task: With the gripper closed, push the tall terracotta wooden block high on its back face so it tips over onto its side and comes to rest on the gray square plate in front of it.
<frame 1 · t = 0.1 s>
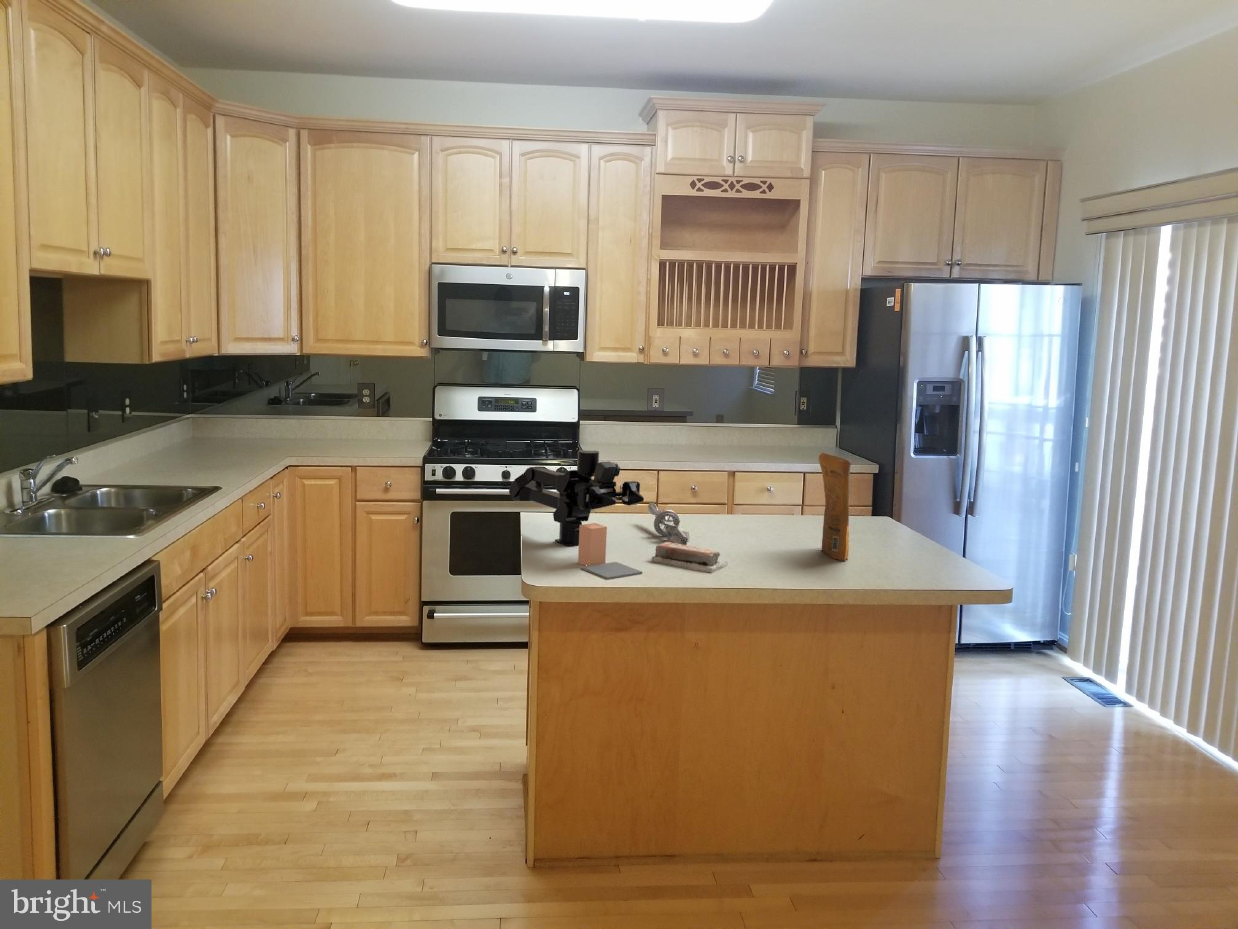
hand: (629, 501, 256), 17 cm above the counter, fingers open, 9 cm apart
pancake mix bag: (831, 554, 279), on the counter
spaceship: (665, 536, 292), on the counter
terracotta block: (591, 563, 257), on the counter
gray square plate: (611, 571, 250), on the counter
packaged product: (689, 565, 262), on the counter
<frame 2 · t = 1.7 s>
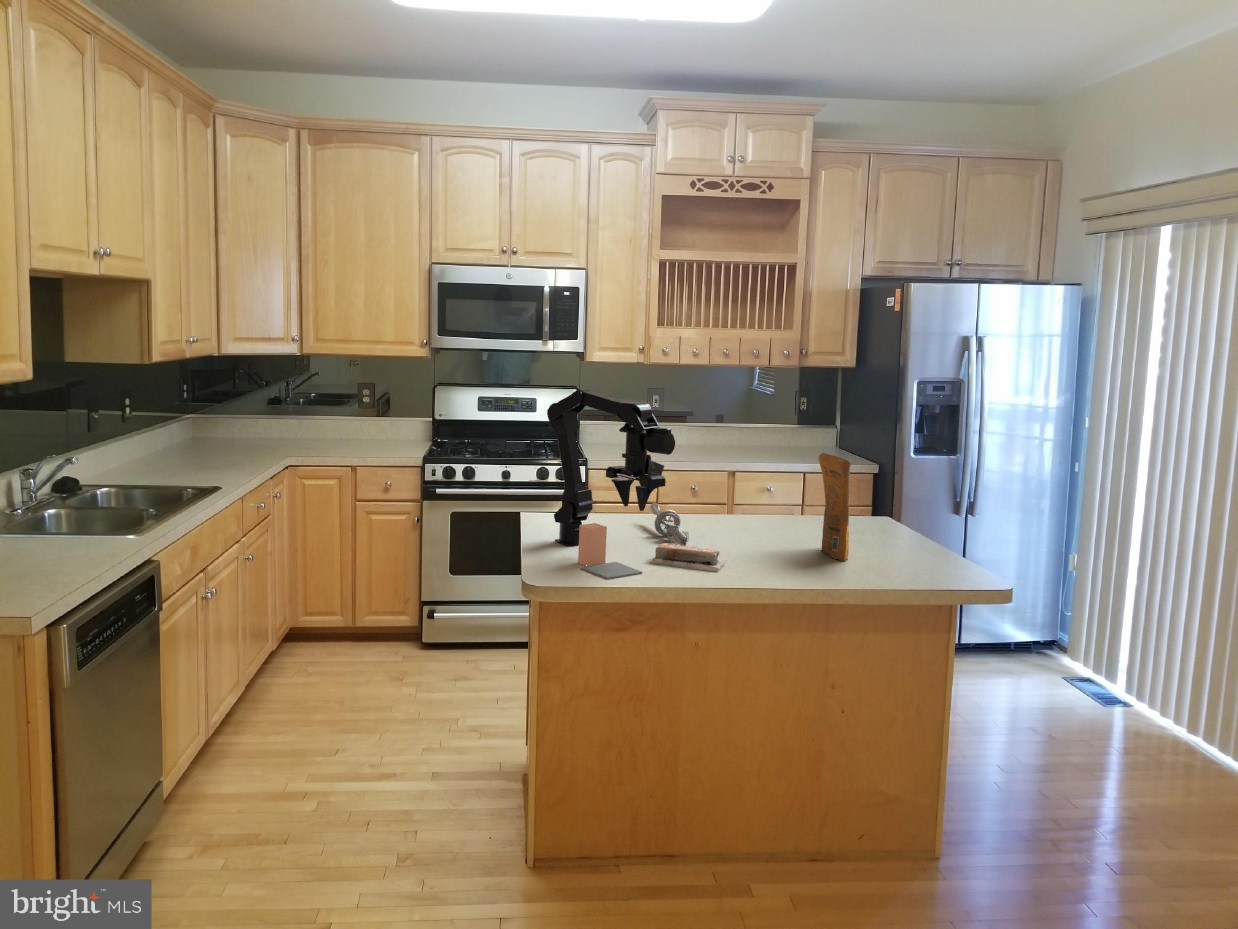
hand: (633, 508, 264), 13 cm above the counter, fingers open, 6 cm apart
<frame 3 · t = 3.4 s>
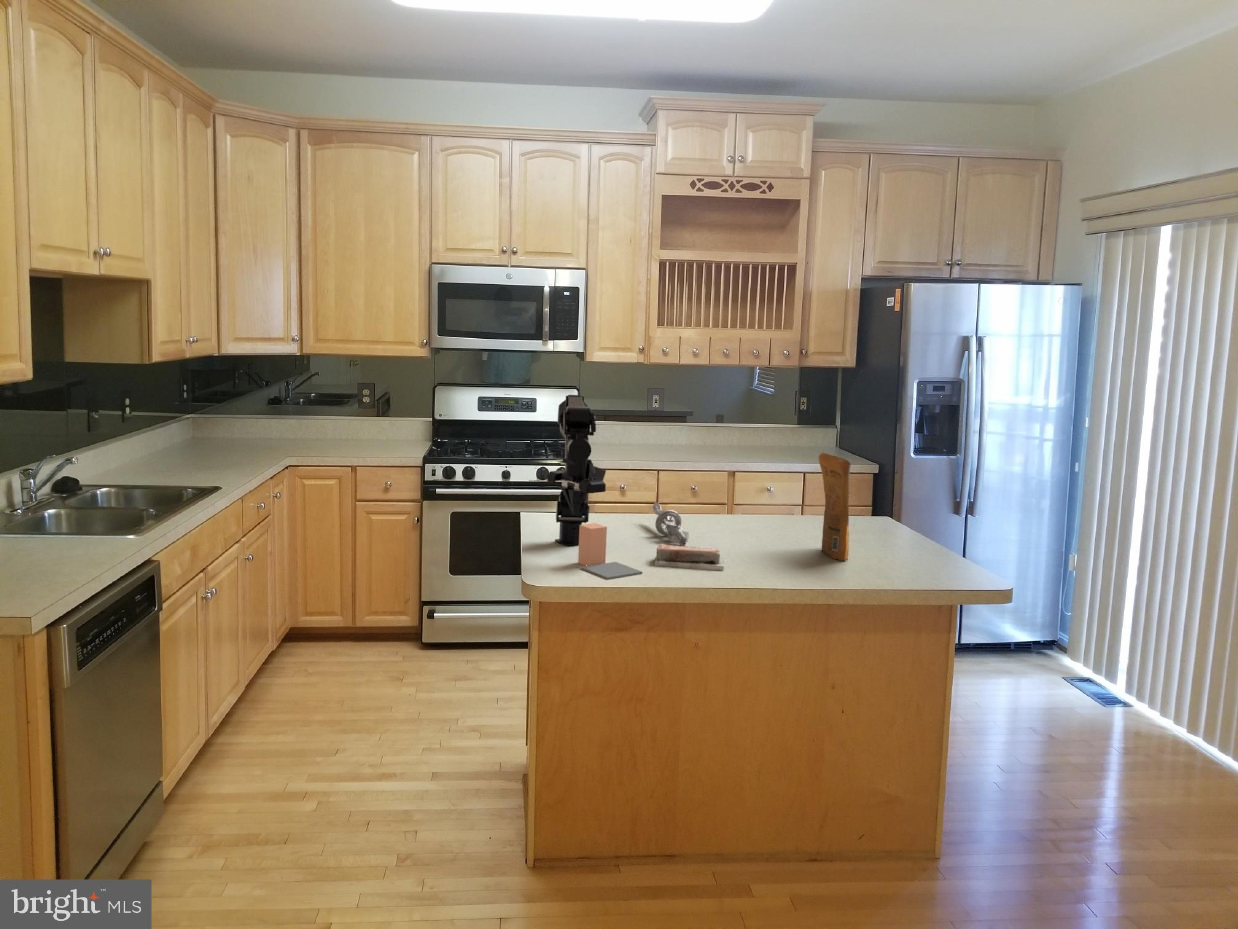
hand: (574, 513, 262), 11 cm above the counter, fingers closed
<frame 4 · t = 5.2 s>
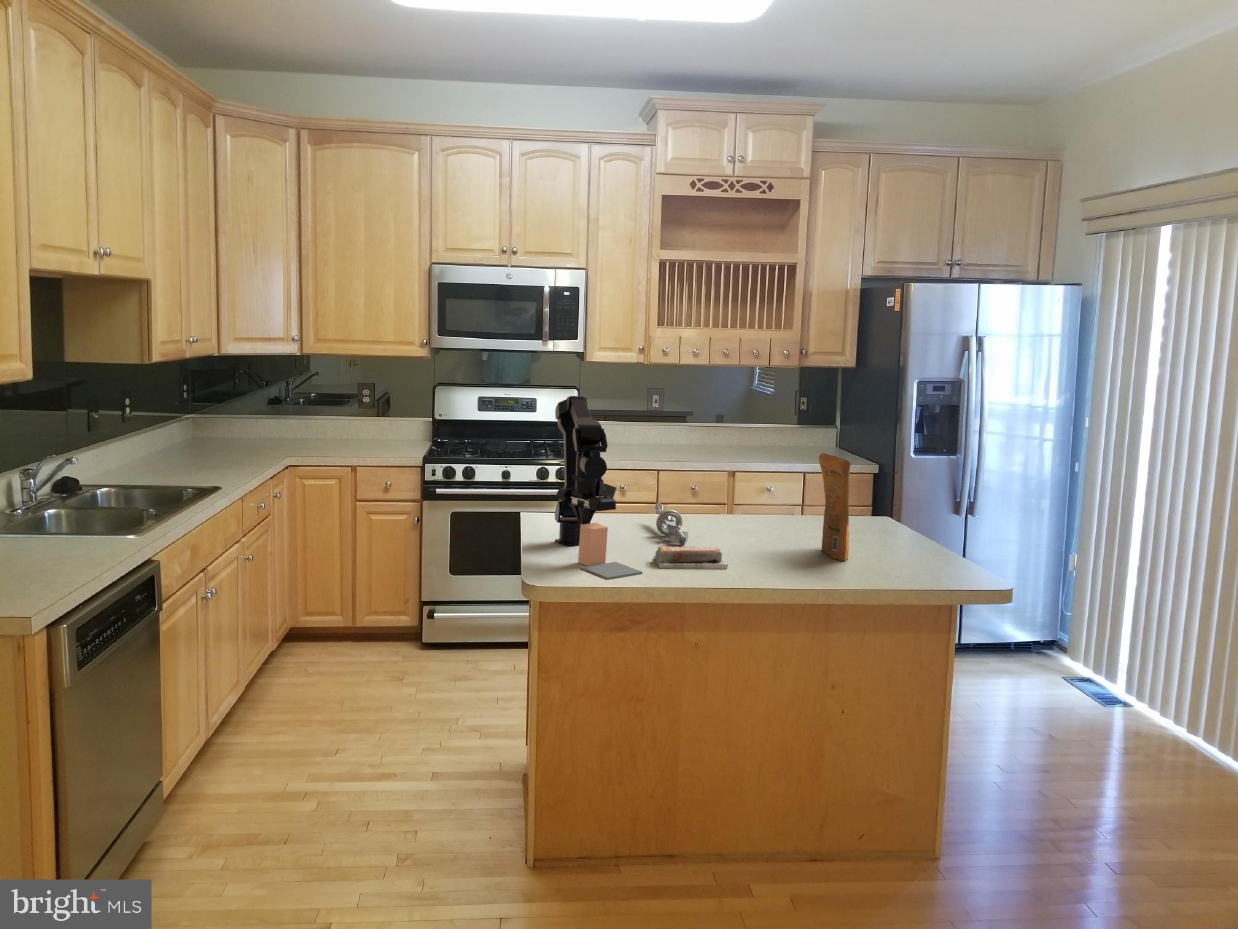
hand: (584, 531, 258), 8 cm above the counter, fingers closed
terracotta block: (591, 563, 257), on the counter, touching gripper
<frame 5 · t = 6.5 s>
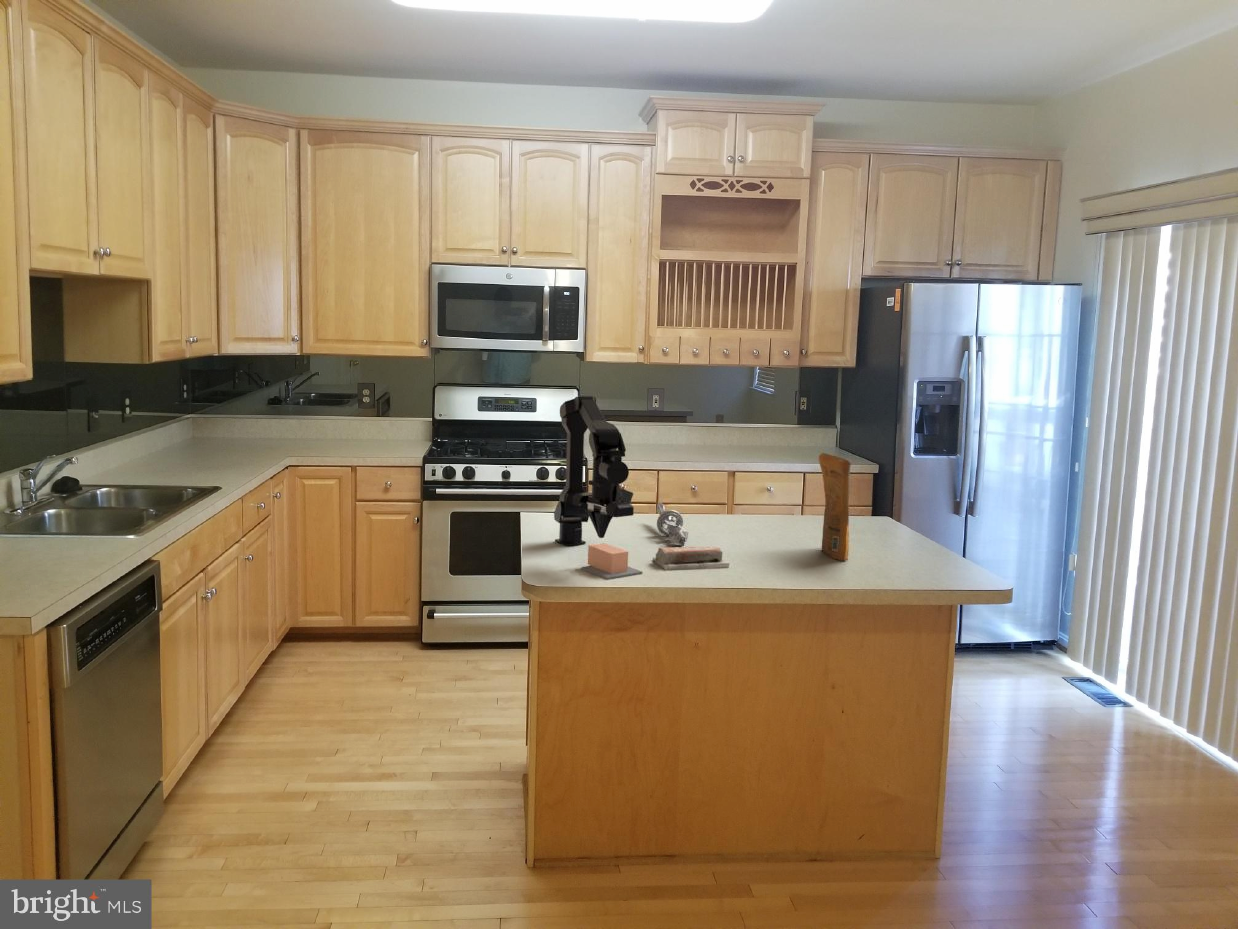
hand: (601, 537, 253), 8 cm above the counter, fingers closed
terracotta block: (595, 553, 255), point 3 cm above the counter, tilted 90°, touching gray square plate
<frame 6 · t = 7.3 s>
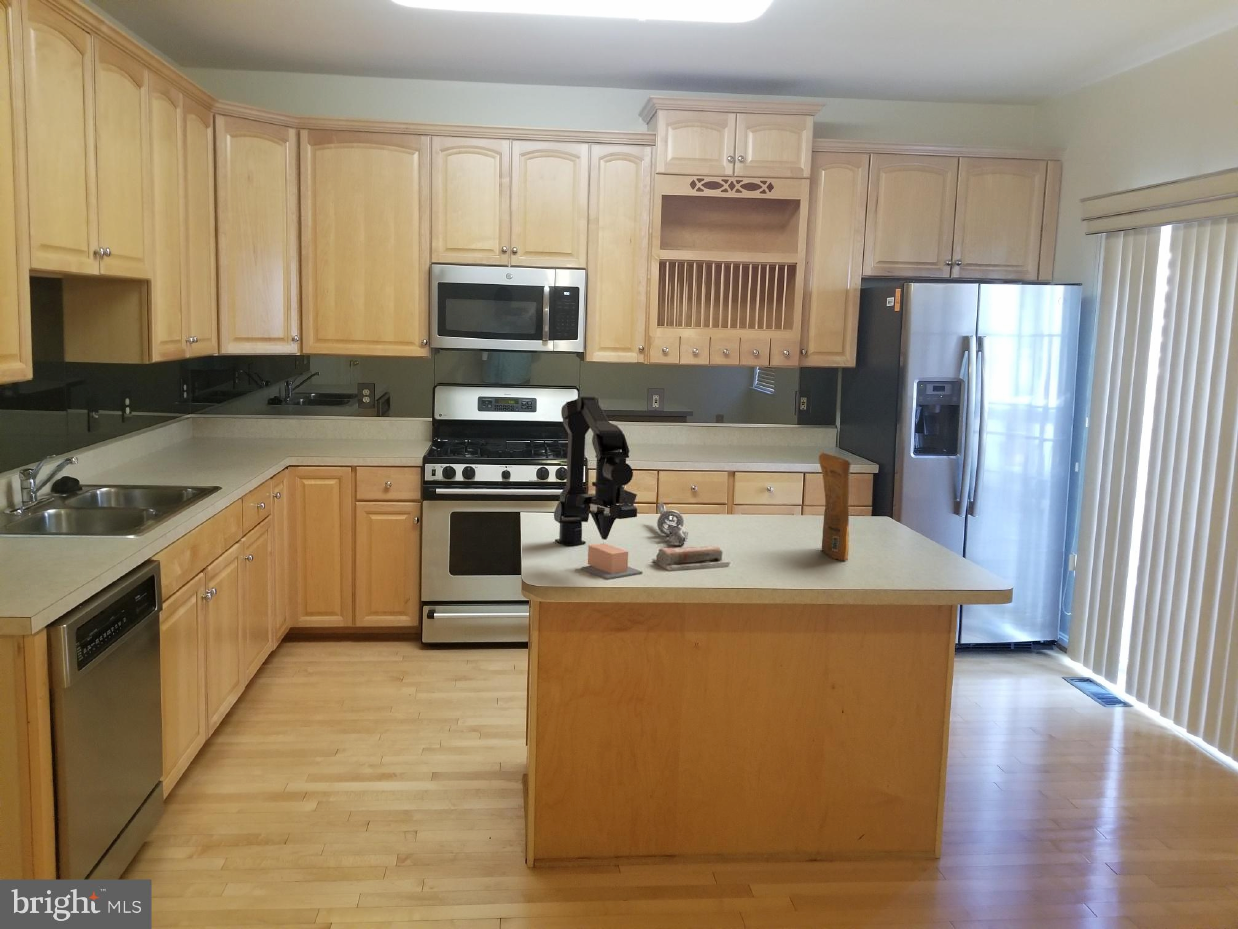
hand: (604, 539, 252), 8 cm above the counter, fingers closed
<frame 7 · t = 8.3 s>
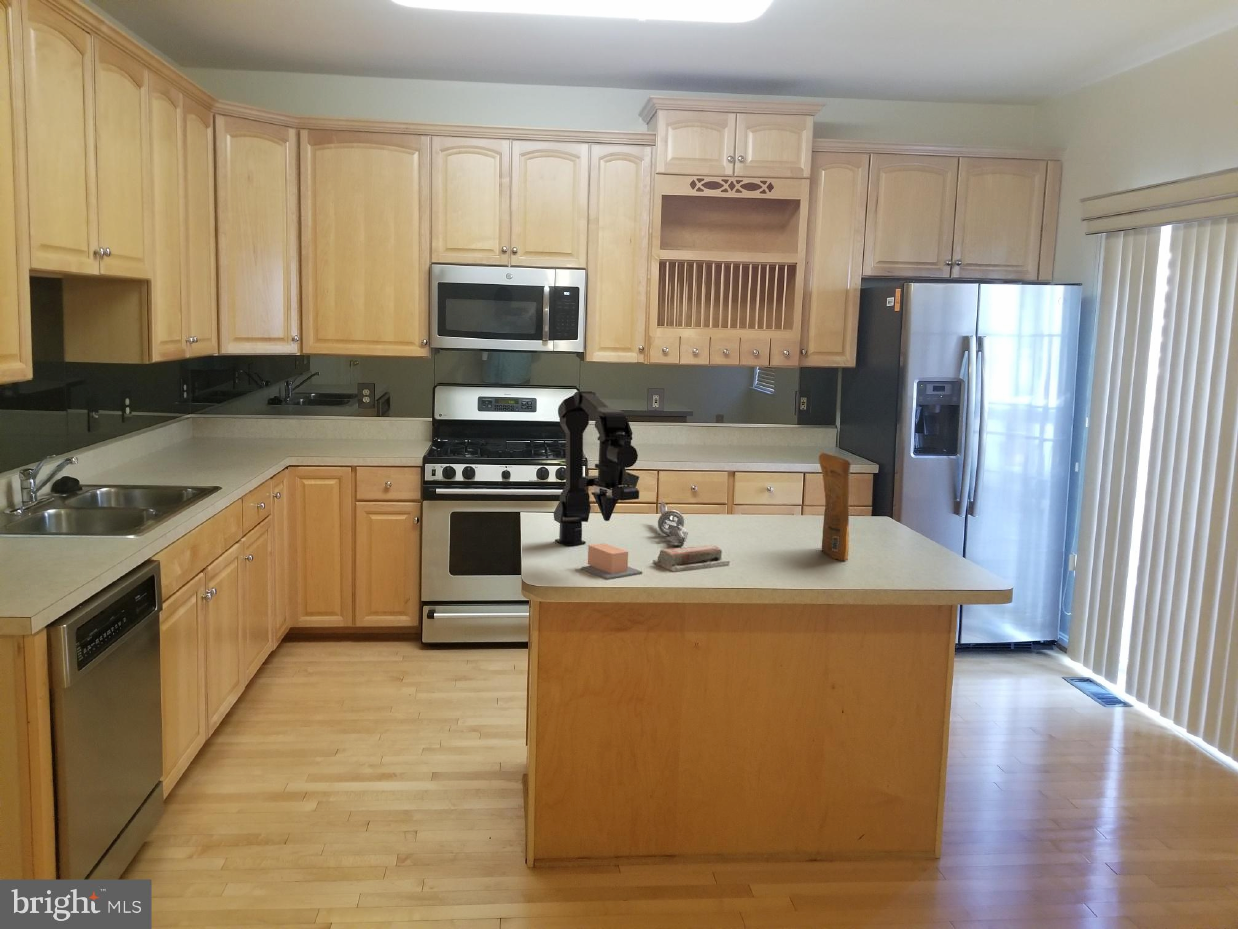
hand: (606, 520, 255), 12 cm above the counter, fingers closed
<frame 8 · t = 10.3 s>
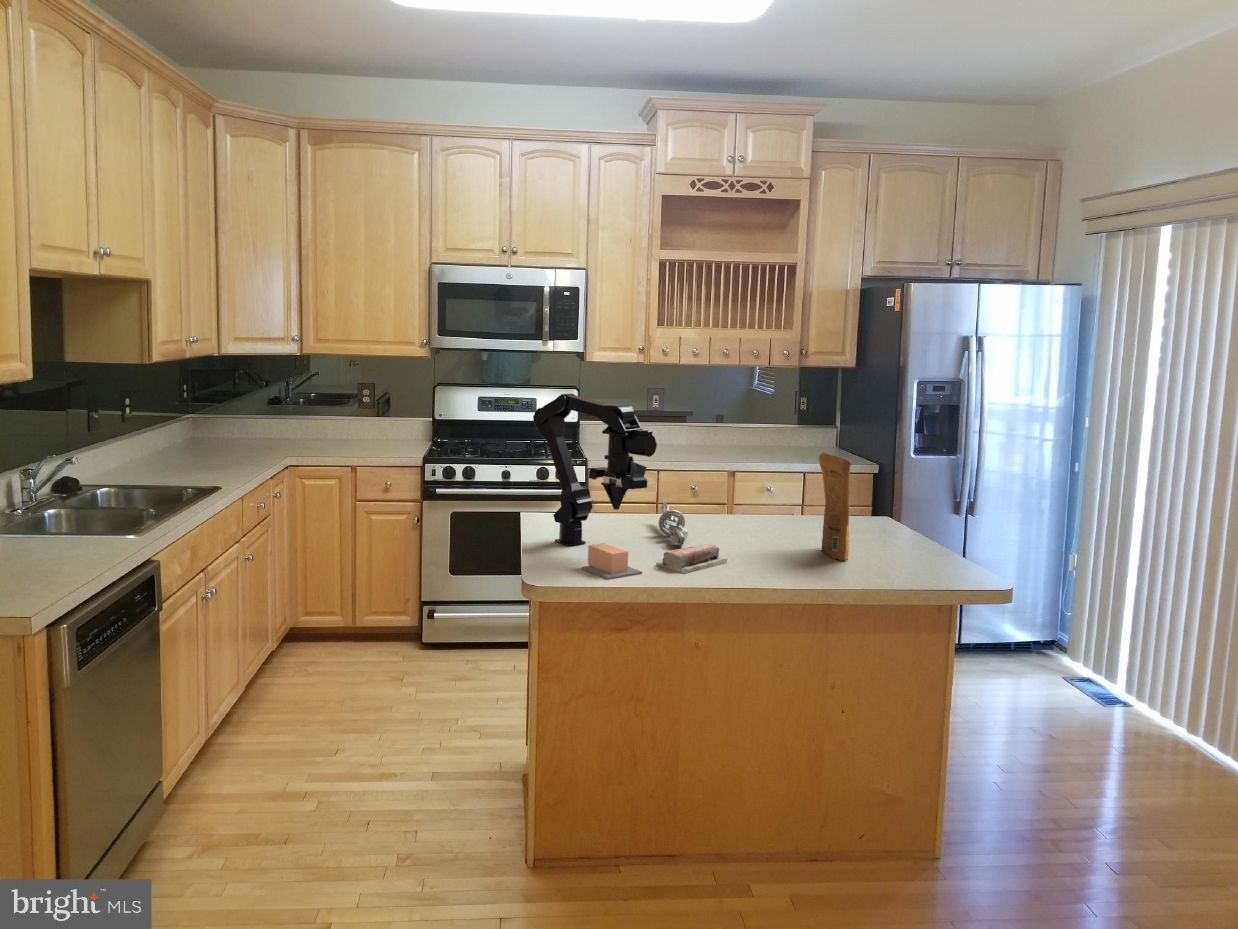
hand: (616, 509, 267), 12 cm above the counter, fingers closed
at the end: terracotta block tilted 90°; terracotta block touching gray square plate; terracotta block inside the target area (3.8 cm from its centre), point 3.0 cm above the counter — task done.
